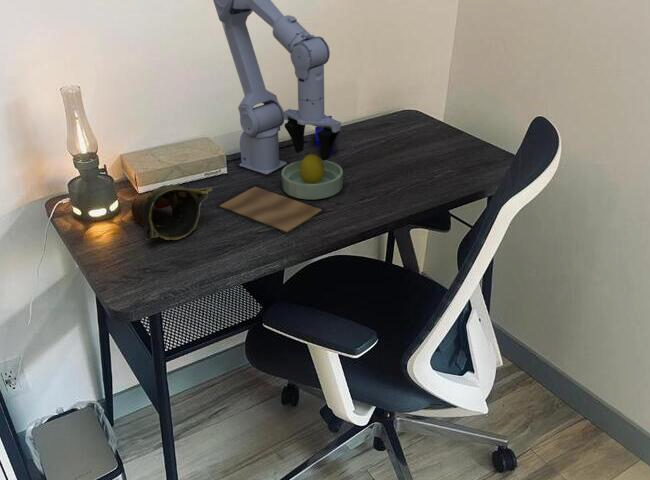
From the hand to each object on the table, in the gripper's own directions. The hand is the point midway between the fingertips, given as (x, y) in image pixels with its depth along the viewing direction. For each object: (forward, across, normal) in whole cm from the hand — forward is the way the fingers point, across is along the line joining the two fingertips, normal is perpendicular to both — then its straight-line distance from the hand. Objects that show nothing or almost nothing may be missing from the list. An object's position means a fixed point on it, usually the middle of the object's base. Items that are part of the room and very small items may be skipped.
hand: (312, 155), depth 153 cm
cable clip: (+8, -13, +22) cm, 27 cm away
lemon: (+8, 0, 0) cm, 8 cm away
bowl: (+8, 0, 0) cm, 8 cm away
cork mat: (+8, -1, -14) cm, 16 cm away
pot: (+8, -12, -34) cm, 37 cm away
